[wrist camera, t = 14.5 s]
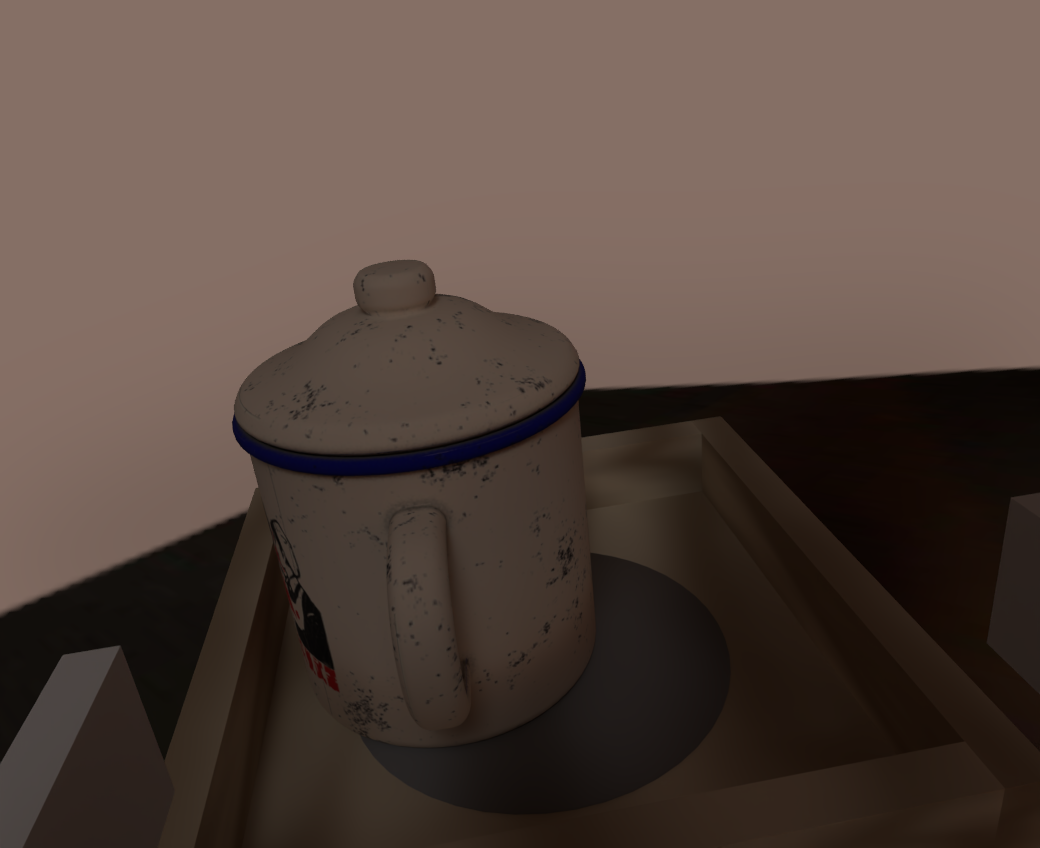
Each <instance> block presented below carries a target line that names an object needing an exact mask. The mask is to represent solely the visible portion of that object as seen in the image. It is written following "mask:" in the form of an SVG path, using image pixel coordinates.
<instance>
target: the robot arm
mask: <svg viewBox="0 0 1040 848" xmlns="http://www.w3.org/2000/svg"><path fill="white" fill-rule="evenodd" d="M987 644H988V645H989V646H990V647H991V648H992V649H993V650H994V651H996V652H997V653H998V654H999V655H1000V656H1001V657H1002V658H1003V659H1004V660H1005V661H1006V662H1007V663H1008V664H1009V665H1010V666H1011V667H1012V668H1013V669H1014V670H1015V671H1016V672H1017V673H1018V674H1019V675H1020V676H1021V677H1022V678H1023V679H1024V680H1026V681H1027V682H1028V683H1029V684H1030V685H1031V686H1032V687H1033V688H1034V689H1035V690H1036V691H1037V692H1038V693H1039V694H1040V493H1036V494H1030V495H1024V496H1018V497H1012V498H1011V500H1010V506H1009V512H1008V518H1007V524H1006V530H1005V536H1004V542H1003V548H1002V554H1001V560H1000V567H999V573H998V579H997V585H996V591H995V597H994V603H993V609H992V615H991V621H990V627H989V633H988V639H987ZM174 793H175V789H174V787H173V784H172V781H171V779H170V776H169V773H168V771H167V768H166V765H165V763H164V760H163V757H162V755H161V752H160V749H159V747H158V744H157V741H156V739H155V736H154V734H153V731H152V728H151V726H150V723H149V720H148V718H147V715H146V712H145V710H144V707H143V704H142V702H141V699H140V696H139V694H138V691H137V688H136V686H135V683H134V680H133V678H132V675H131V672H130V670H129V667H128V664H127V662H126V659H125V657H124V654H123V651H122V649H121V646H115V647H109V648H103V649H97V650H91V651H85V652H79V653H73V654H67V655H63V656H62V658H61V659H60V661H59V663H58V665H57V666H56V668H55V670H54V672H53V673H52V675H51V677H50V679H49V680H48V682H47V684H46V685H45V687H44V689H43V691H42V692H41V694H40V696H39V698H38V699H37V701H36V703H35V705H34V706H33V708H32V710H31V712H30V713H29V715H28V717H27V719H26V720H25V722H24V724H23V725H22V727H21V729H20V731H19V732H18V734H17V736H16V738H15V739H14V741H13V743H12V745H11V746H10V748H9V750H8V752H7V753H6V755H5V757H4V759H3V760H2V762H1V764H0V848H158V844H159V841H160V838H161V835H162V831H163V828H164V825H165V822H166V818H167V815H168V812H169V809H170V806H171V802H172V799H173V796H174Z"/></svg>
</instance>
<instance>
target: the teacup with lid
mask: <svg viewBox="0 0 1040 848" xmlns="http://www.w3.org/2000/svg"><path fill="white" fill-rule="evenodd" d="M353 287H354V293H355V299H356V302H357V304H358V305H357V306H354V307H352V308H350V309H347V310H345V311H343V312H341V313H339V314H337V315H335V316H334V317H332V318H330V319H329V320H328V321H326V322H325V323H324V324H323V325H321V326H320V327H319V328H318V329H317V330H316V331H315V332H314V333H313V334H312V335H311V336H310V337H309V338H308V339H307V340H306V341H303V342H301V343H298V344H296V345H294V346H292V347H289V348H287V349H285V350H283V351H282V352H280V353H278V354H276V355H274V356H273V357H271V358H269V359H268V360H266V361H265V362H263V363H262V364H261V365H260V366H258V367H257V368H256V369H255V370H254V371H253V372H252V373H251V374H250V375H249V376H248V377H247V378H246V379H245V381H244V382H243V384H242V385H241V387H240V389H239V392H238V394H237V397H236V400H235V404H234V417H233V421H232V425H233V433H234V435H235V438H236V440H237V442H238V443H239V444H240V446H241V447H242V448H243V449H244V450H245V451H246V452H247V453H249V454H250V456H251V460H252V464H253V467H254V471H255V475H256V478H257V483H258V487H259V490H260V494H261V498H262V502H263V505H264V509H265V513H266V517H267V521H268V524H269V528H270V532H271V536H272V539H273V543H274V547H275V551H276V555H277V558H278V562H279V566H280V570H281V574H282V577H283V581H284V585H285V589H286V592H287V596H288V600H289V604H290V608H291V611H292V615H293V619H294V623H295V626H296V630H297V634H298V638H299V642H300V645H301V649H302V653H303V657H304V661H305V664H306V668H307V672H308V676H309V679H310V683H311V685H312V688H313V691H314V693H315V695H316V697H317V699H318V700H319V702H320V703H321V705H322V706H323V707H324V709H325V710H326V711H327V712H328V713H329V714H330V715H331V716H332V717H333V718H334V719H335V720H337V721H338V722H339V723H341V724H342V725H343V726H345V727H346V728H348V729H350V730H352V731H353V732H355V733H357V734H360V735H362V736H364V737H367V738H370V739H373V740H376V741H379V742H382V743H387V744H391V745H396V746H404V747H414V748H440V747H450V746H459V745H464V744H469V743H474V742H478V741H482V740H486V739H489V738H492V737H495V736H498V735H501V734H504V733H506V732H508V731H511V730H513V729H515V728H518V727H520V726H522V725H524V724H525V723H527V722H529V721H531V720H533V719H534V718H536V717H537V716H539V715H541V714H542V713H544V712H545V711H546V710H548V709H549V708H550V707H552V706H553V705H554V704H555V703H557V702H558V701H559V700H560V699H561V698H562V697H563V696H564V695H565V694H566V693H567V692H568V691H569V690H570V689H571V688H572V687H573V686H574V684H575V683H576V682H577V680H578V679H579V678H580V676H581V675H582V673H583V671H584V669H585V668H586V666H587V664H588V662H589V659H590V657H591V654H592V651H593V647H594V643H595V634H596V621H595V608H594V596H593V583H592V570H591V557H590V545H589V532H588V519H587V506H586V494H585V481H584V468H583V455H582V443H581V430H580V417H579V404H578V400H579V398H580V397H581V395H582V393H583V390H584V388H585V382H586V375H585V369H584V366H583V364H582V362H581V361H580V359H579V356H578V353H577V350H576V349H575V348H574V346H573V345H572V343H571V342H570V341H569V339H568V338H567V337H566V336H565V335H564V334H563V333H561V332H560V331H559V330H557V329H556V328H554V327H552V326H550V325H548V324H546V323H544V322H541V321H538V320H535V319H531V318H528V317H523V316H519V315H513V314H507V313H498V312H492V311H490V310H489V309H487V308H485V307H483V306H481V305H479V304H477V303H475V302H473V301H470V300H467V299H464V298H461V297H457V296H451V295H443V294H435V292H436V286H435V280H434V274H433V272H432V270H431V269H430V268H429V267H428V266H427V265H426V264H425V263H423V262H421V261H417V260H397V261H390V262H383V263H378V264H374V265H371V266H368V267H366V268H364V269H362V270H361V271H359V272H358V274H357V276H356V277H355V279H354V283H353Z"/></svg>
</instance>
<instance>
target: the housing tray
mask: <svg viewBox="0 0 1040 848" xmlns="http://www.w3.org/2000/svg"><path fill="white" fill-rule="evenodd" d="M581 443H582V455H583V468H584V481H585V494H586V506H587V519H588V532H589V545H590V557H591V570H592V583H593V596H594V608H595V621H596V634H595V643H594V647H593V651H592V654H591V657H590V659H589V662H588V664H587V666H586V668H585V669H584V671H583V673H582V675H581V676H580V678H579V679H578V680H577V682H576V683H575V684H574V686H573V687H572V688H571V689H570V690H569V691H568V692H567V693H566V694H565V695H564V696H563V697H562V698H561V699H560V700H559V701H558V702H557V703H555V704H554V705H553V706H552V707H550V708H549V709H548V710H546V711H545V712H544V713H542V714H541V715H539V716H537V717H536V718H534V719H533V720H531V721H529V722H527V723H525V724H524V725H522V726H520V727H518V728H515V729H513V730H511V731H508V732H506V733H504V734H501V735H498V736H495V737H492V738H489V739H486V740H482V741H478V742H474V743H469V744H464V745H459V746H450V747H440V748H414V747H404V746H396V745H391V744H387V743H382V742H379V741H376V740H373V739H370V738H367V737H364V736H362V735H360V734H357V733H355V732H353V731H352V730H350V729H348V728H346V727H345V726H343V725H342V724H341V723H339V722H338V721H337V720H335V719H334V718H333V717H332V716H331V715H330V714H329V713H328V712H327V711H326V710H325V709H324V707H323V706H322V705H321V703H320V702H319V700H318V699H317V697H316V695H315V693H314V691H313V688H312V685H311V683H310V679H309V676H308V672H307V668H306V664H305V661H304V657H303V653H302V649H301V645H300V642H299V638H298V634H297V630H296V626H295V623H294V619H293V615H292V611H291V608H290V604H289V600H288V596H287V592H286V589H285V585H284V581H283V577H282V574H281V570H280V566H279V562H278V558H277V555H276V551H275V547H274V543H273V539H272V536H271V532H270V528H269V524H268V521H267V517H266V513H265V509H264V505H263V502H262V498H261V494H260V490H259V488H256V489H255V492H254V495H253V498H252V501H251V504H250V507H249V510H248V513H247V516H246V519H245V522H244V525H243V528H242V531H241V534H240V537H239V540H238V543H237V546H236V549H235V552H234V555H233V558H232V561H231V564H230V567H229V570H228V573H227V576H226V579H225V582H224V585H223V588H222V591H221V594H220V597H219V600H218V603H217V606H216V609H215V612H214V615H213V618H212V621H211V624H210V627H209V630H208V633H207V636H206V639H205V642H204V645H203V648H202V651H201V654H200V657H199V660H198V663H197V666H196V669H195V672H194V675H193V678H192V681H191V684H190V687H189V690H188V693H187V696H186V699H185V702H184V705H183V708H182V711H181V714H180V717H179V720H178V723H177V726H176V729H175V732H174V735H173V738H172V741H171V744H170V747H169V750H168V752H167V755H166V758H165V761H164V763H165V765H166V768H167V771H168V773H169V776H170V779H171V781H172V784H173V787H174V789H175V793H174V796H173V799H172V802H171V806H170V809H169V812H168V815H167V818H166V822H165V825H164V828H163V831H162V835H161V838H160V841H159V844H158V848H1040V751H1039V750H1038V749H1037V748H1036V747H1035V746H1034V745H1033V744H1032V743H1031V742H1030V741H1029V740H1028V739H1027V738H1026V737H1025V736H1024V735H1023V734H1022V733H1021V732H1020V730H1019V729H1018V728H1017V727H1016V726H1015V725H1014V724H1013V723H1012V722H1011V721H1010V720H1009V719H1008V718H1007V717H1006V716H1005V715H1004V714H1003V713H1002V712H1001V711H1000V709H999V708H998V707H997V706H996V705H995V704H994V703H993V702H992V701H991V700H990V699H989V698H988V697H987V696H986V695H985V694H984V693H983V692H982V691H981V689H980V688H979V687H978V686H977V685H976V684H975V683H974V682H973V681H972V680H971V679H970V678H969V677H968V676H967V675H966V674H965V673H964V672H963V671H962V670H961V668H960V667H959V666H958V665H957V664H956V663H955V662H954V661H953V660H952V659H951V658H950V657H949V656H948V655H947V654H946V653H945V652H944V651H943V650H942V649H941V647H940V646H939V645H938V644H937V643H936V642H935V641H934V640H933V639H932V638H931V637H930V636H929V635H928V634H927V633H926V632H925V631H924V630H923V629H922V627H921V626H920V625H919V624H918V623H917V622H916V621H915V620H914V619H913V618H912V617H911V616H910V615H909V614H908V613H907V612H906V611H905V610H904V609H903V608H902V606H901V605H900V604H899V603H898V602H897V601H896V600H895V599H894V598H893V597H892V596H891V595H890V594H889V593H888V592H887V591H886V590H885V589H884V588H883V587H882V585H881V584H880V583H879V582H878V581H877V580H876V579H875V578H874V577H873V576H872V575H871V574H870V573H869V572H868V571H867V570H866V569H865V568H864V567H863V565H862V564H861V563H860V562H859V561H858V560H857V559H856V558H855V557H854V556H853V555H852V554H851V553H850V552H849V551H848V550H847V549H846V548H845V547H844V546H843V544H842V543H841V542H840V541H839V540H838V539H837V538H836V537H835V536H834V535H833V534H832V533H831V532H830V531H829V530H828V529H827V528H826V527H825V526H824V525H823V523H822V522H821V521H820V520H819V519H818V518H817V517H816V516H815V515H814V514H813V513H812V512H811V511H810V510H809V509H808V508H807V507H806V506H805V505H804V503H803V502H802V501H801V500H800V499H799V498H798V497H797V496H796V495H795V494H794V493H793V492H792V491H791V490H790V489H789V488H788V487H787V486H786V485H785V484H784V482H783V481H782V480H781V479H780V478H779V477H778V476H777V475H776V474H775V473H774V472H773V471H772V470H771V469H770V468H769V467H768V466H767V465H766V464H765V462H764V461H763V460H762V459H761V458H760V457H759V456H758V455H757V454H756V453H755V452H754V451H753V450H752V449H751V448H750V447H749V446H748V445H747V444H746V443H745V441H744V440H743V439H742V438H741V437H740V436H739V435H738V434H737V433H736V432H735V431H734V430H733V429H732V428H731V427H730V426H729V425H728V424H727V423H726V422H725V420H724V419H723V418H722V417H721V416H720V417H714V418H707V419H701V420H694V421H688V422H681V423H675V424H668V425H662V426H655V427H649V428H642V429H636V430H629V431H623V432H616V433H610V434H603V435H597V436H590V437H584V438H581Z"/></svg>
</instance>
